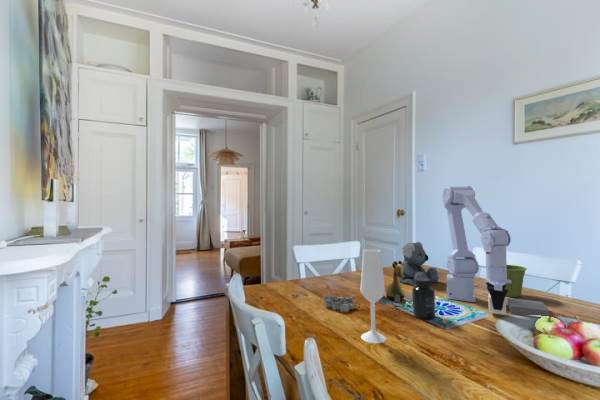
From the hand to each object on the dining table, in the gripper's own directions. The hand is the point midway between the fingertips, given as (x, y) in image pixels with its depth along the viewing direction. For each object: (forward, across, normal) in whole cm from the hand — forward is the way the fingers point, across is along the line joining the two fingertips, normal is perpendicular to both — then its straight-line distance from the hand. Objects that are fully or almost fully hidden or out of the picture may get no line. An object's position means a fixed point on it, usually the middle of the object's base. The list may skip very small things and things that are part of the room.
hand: (497, 307), depth 97 cm
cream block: (+2, 0, 0) cm, 2 cm away
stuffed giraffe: (+3, +2, +32) cm, 33 cm away
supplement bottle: (+3, -12, +21) cm, 24 cm away
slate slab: (+3, +9, -9) cm, 13 cm away
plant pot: (+3, +29, -6) cm, 30 cm away
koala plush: (+3, +33, +31) cm, 45 cm away
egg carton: (+3, -17, +49) cm, 52 cm away
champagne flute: (+3, -36, +31) cm, 48 cm away
